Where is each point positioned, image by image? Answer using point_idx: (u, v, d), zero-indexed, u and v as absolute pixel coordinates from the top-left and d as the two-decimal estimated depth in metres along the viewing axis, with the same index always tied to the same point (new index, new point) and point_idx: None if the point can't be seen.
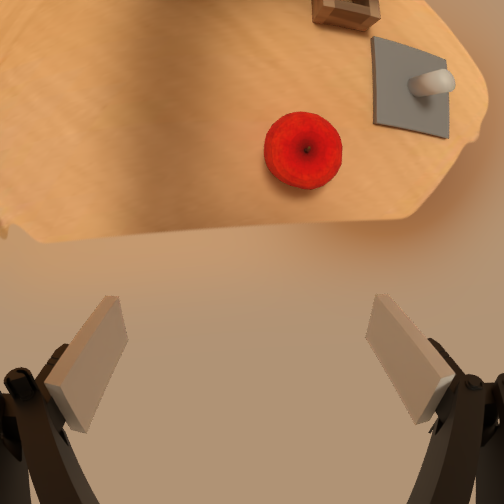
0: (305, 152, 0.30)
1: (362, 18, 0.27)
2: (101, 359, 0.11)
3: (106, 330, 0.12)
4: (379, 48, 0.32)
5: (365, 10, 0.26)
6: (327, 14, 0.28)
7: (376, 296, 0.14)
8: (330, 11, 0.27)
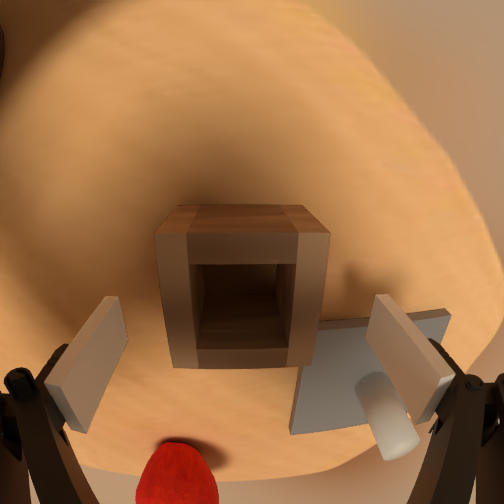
0: None
1: None
2: (101, 359, 0.11)
3: (106, 330, 0.12)
4: (315, 350, 0.22)
5: (274, 358, 0.16)
6: None
7: (376, 296, 0.14)
8: None
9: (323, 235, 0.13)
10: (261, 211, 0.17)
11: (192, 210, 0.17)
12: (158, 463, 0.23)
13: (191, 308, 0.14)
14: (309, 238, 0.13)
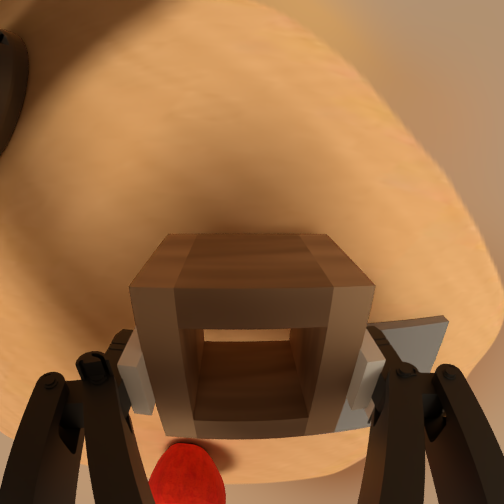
0: None
1: None
2: None
3: None
4: None
5: (290, 429, 0.12)
6: None
7: None
8: None
9: (365, 288, 0.09)
10: (276, 246, 0.13)
11: (186, 243, 0.13)
12: (168, 462, 0.24)
13: (185, 378, 0.10)
14: (347, 294, 0.09)
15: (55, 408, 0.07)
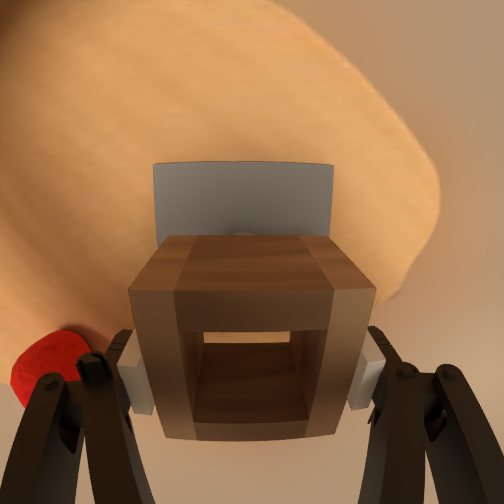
0: None
1: None
2: None
3: None
4: (163, 189, 0.22)
5: (291, 431, 0.11)
6: None
7: None
8: None
9: (366, 291, 0.09)
10: (277, 247, 0.13)
11: (185, 245, 0.13)
12: (40, 339, 0.23)
13: (185, 381, 0.10)
14: (348, 297, 0.09)
15: (55, 408, 0.07)
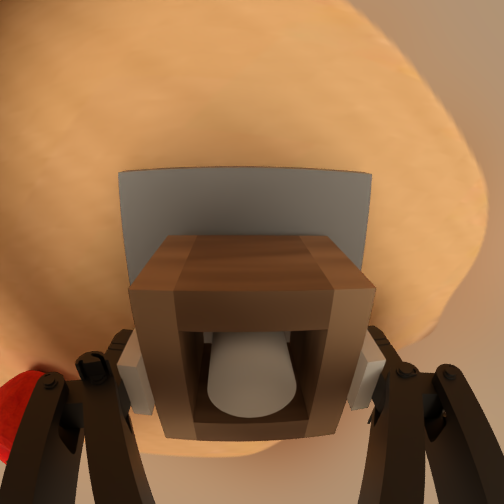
0: None
1: None
2: None
3: None
4: (133, 207, 0.15)
5: (291, 431, 0.11)
6: None
7: None
8: None
9: (366, 291, 0.09)
10: (277, 247, 0.13)
11: (185, 245, 0.13)
12: (6, 383, 0.16)
13: (185, 381, 0.10)
14: (348, 297, 0.09)
15: (55, 408, 0.07)
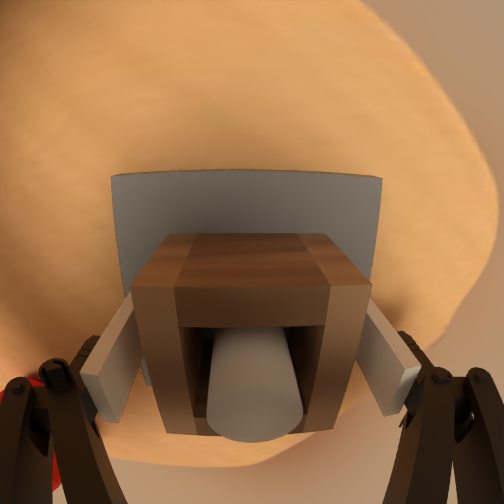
0: None
1: None
2: (131, 350, 0.12)
3: (135, 321, 0.13)
4: (127, 213, 0.14)
5: None
6: None
7: None
8: None
9: (362, 287, 0.09)
10: (275, 245, 0.13)
11: (186, 242, 0.13)
12: (1, 392, 0.15)
13: (185, 376, 0.10)
14: (345, 293, 0.09)
15: (24, 411, 0.06)
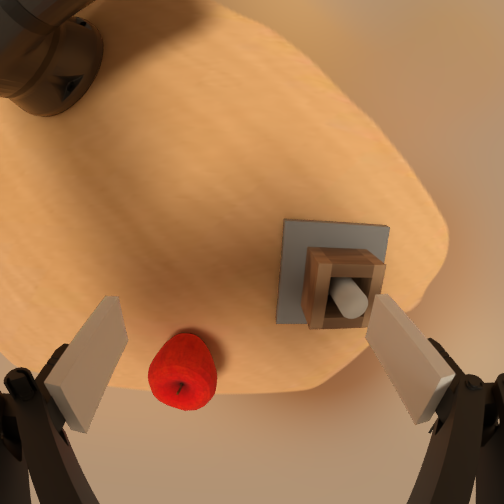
0: (181, 385, 0.33)
1: None
2: (101, 359, 0.11)
3: (106, 330, 0.12)
4: (290, 237, 0.35)
5: (357, 322, 0.33)
6: None
7: (376, 296, 0.14)
8: None
9: (383, 266, 0.31)
10: (351, 252, 0.34)
11: (319, 250, 0.34)
12: (172, 340, 0.36)
13: (327, 297, 0.31)
14: (378, 267, 0.31)
15: None
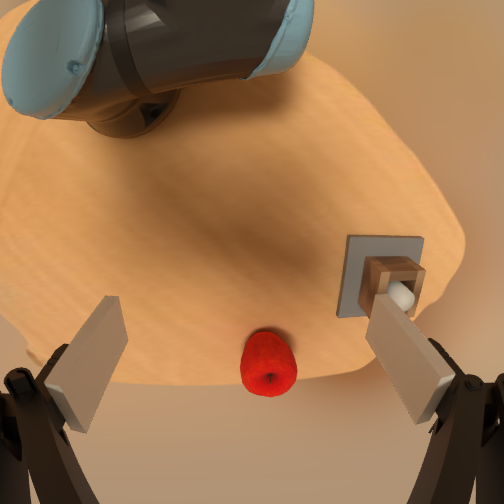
0: (269, 376, 0.41)
1: None
2: (101, 359, 0.11)
3: (106, 330, 0.12)
4: (353, 249, 0.43)
5: None
6: None
7: (376, 296, 0.14)
8: None
9: (423, 271, 0.38)
10: (398, 260, 0.42)
11: (375, 260, 0.42)
12: (257, 339, 0.44)
13: None
14: (420, 272, 0.38)
15: None
